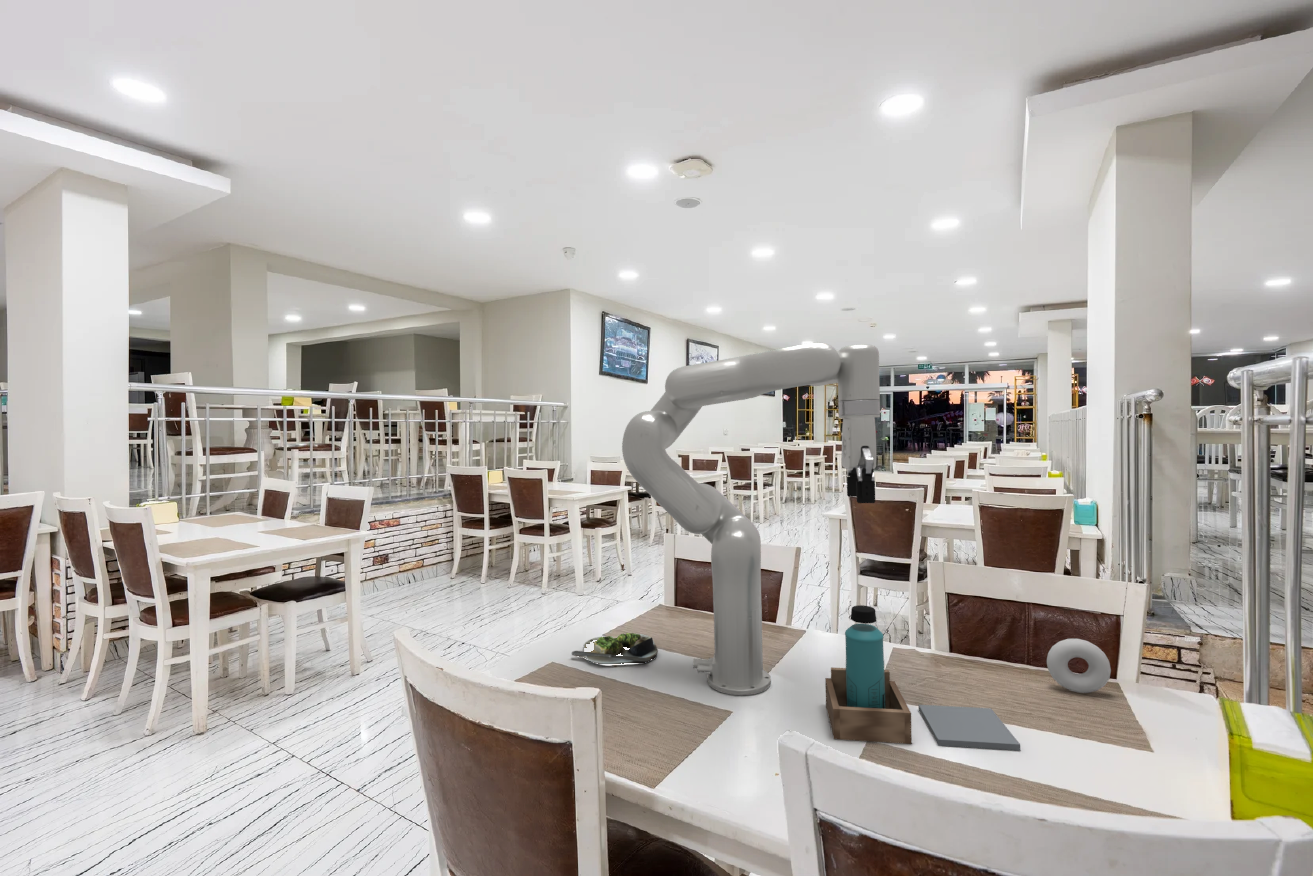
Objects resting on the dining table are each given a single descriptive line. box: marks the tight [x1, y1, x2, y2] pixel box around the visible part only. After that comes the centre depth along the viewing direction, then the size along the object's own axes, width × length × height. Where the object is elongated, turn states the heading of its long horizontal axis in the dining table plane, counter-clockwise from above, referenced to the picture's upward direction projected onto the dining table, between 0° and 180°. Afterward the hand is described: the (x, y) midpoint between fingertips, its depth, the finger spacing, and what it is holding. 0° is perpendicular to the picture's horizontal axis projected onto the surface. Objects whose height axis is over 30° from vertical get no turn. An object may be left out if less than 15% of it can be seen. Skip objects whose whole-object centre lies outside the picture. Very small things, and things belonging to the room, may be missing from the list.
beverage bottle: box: [844, 604, 886, 709], centre depth 103 cm, size 6×7×20 cm
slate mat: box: [917, 704, 1021, 752], centre depth 101 cm, size 12×12×1 cm
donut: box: [1046, 638, 1112, 694], centre depth 113 cm, size 10×4×10 cm, turn 65°
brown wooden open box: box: [824, 666, 912, 745], centre depth 103 cm, size 12×12×7 cm
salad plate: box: [571, 632, 659, 664], centre depth 137 cm, size 19×18×5 cm
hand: (860, 499), depth 116 cm, fingers open, 9 cm apart
